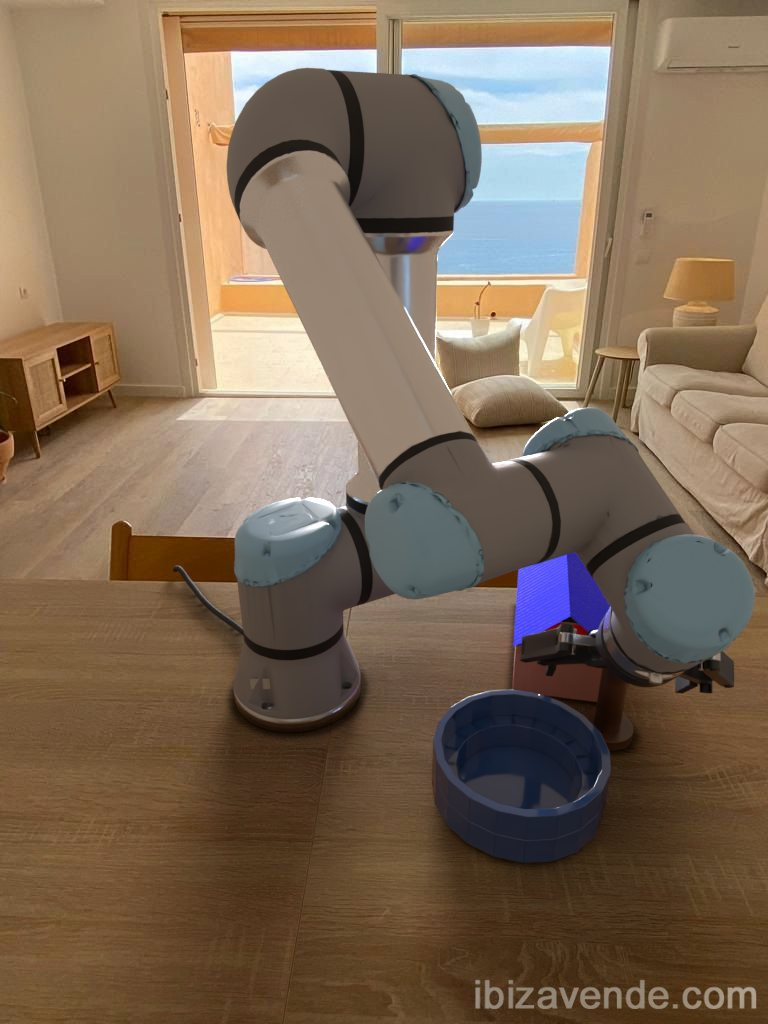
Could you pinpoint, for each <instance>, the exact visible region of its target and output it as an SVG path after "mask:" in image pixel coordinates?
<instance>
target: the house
mask: <svg viewBox="0 0 768 1024" xmlns="http://www.w3.org/2000/svg"><path fill="white" fill-rule="evenodd" d="M517 571H518V573H517V587H516V599H515V612H514V613H515V616H514V629H513V640H512V641H513V642H512V648H514V655H513V656H514V657H513V659H514V660H513V672H512V686H511V687H512V688H511V690H520V691H526V692H532V693H538V694H542V695H545V696H547V697H553V698H554V697H555V698H563V699H570V700H577V701H586V702H593V703H597V699H598V693H599V686H600V680H601V673H602V668H595V667H591V666H587V665H586V664H563V665H556V670H555V672H554V674H553V677H552V676H546V666H542V665H540V664H537V661H534V662H528V663H524V662H522V661H520V655H521V643H522V637H523V636H526V635H531V634H535V633H539V632H543V631H547V630H551V629H555V628H558V627H559V626H560V625H561V624H565V623H567V624H571V625H573V626H574V628H575V629H577V634H579V635H586V634H587V632H588V631H589V630H595V629H598V628H599V626H600V624H601V622H602V620H603V618H604V616H605V615H606V613H607V611H608V610H609V608H610V605H609V604H608V602H607V600H606V599H605V597H604V595H603V594H602V592H601V590H600V589H599V587H598V586H597V584H596V582H595V581H594V579H593V578H592V577H591V575H590V574H589V572H588V570H587V569H586V567H585V566H584V564H583V563H582V561H581V560H580V558H579V557H578V555H577V554H576V552H573V553H570V554H567V555H564V556H561V557H558V558H555V559H552V560H549V561H546V562H542V563H539V564H535V565H530V566H527V567H524V568H521V569H518V570H517ZM600 660H602V658H601V659H600Z"/></svg>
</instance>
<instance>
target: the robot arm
mask: <svg viewBox="0 0 768 1024" xmlns="http://www.w3.org/2000/svg"><path fill="white" fill-rule="evenodd" d="M482 154H483V151H482V141H481V134H480V129H479V125H478V122H477V119H476V116H475V113H474V111H473V109H472V107H471V105H470V104H469V103H468V102H466V99H465V97H464V95H463V93H462V92H460V90H459V89H458V88H456V87H455V86H454V85H453V84H451V83H449V82H446V81H444V80H442V79H434V78H430V77H429V78H428V77H423V76H420V75H418V74H415V73H412V74H407V73H406V74H405V73H403V74H402V73H386V72H385V73H383V72H382V73H381V72H366V71H350V70H335V69H326V68H320V67H319V68H318V67H300V68H295V69H292V70H288V71H285V72H282V73H280V74H278V75H276V76H274V77H273V78H271V79H270V80H268V81H266V82H265V83H264V84H263V85H262V86H261V87H259V88H258V89H257V90H255V92H254V93H253V94H252V95H251V97H249V98H248V100H247V101H246V102H245V104H244V106H243V108H242V110H241V111H240V113H239V115H238V116H237V119H236V121H235V122H234V126H233V129H232V132H231V136H230V137H229V142H228V146H227V154H226V155H227V157H226V179H227V180H226V181H227V187H228V193H229V196H230V199H231V203H232V206H233V208H234V211H235V213H236V215H237V218H238V220H239V223H240V224H241V227H242V229H243V230H244V232H245V234H246V235H247V237H248V239H250V240H251V242H253V243H254V244H255V245H256V246H257V247H260V248H262V249H265V250H266V251H267V253H268V255H269V257H270V259H271V261H272V263H273V266H274V268H275V270H276V272H277V274H278V276H279V279H280V280H281V283H282V284H283V287H284V289H285V291H286V293H287V296H288V297H289V299H290V301H291V303H292V305H293V307H294V309H295V312H296V314H297V316H298V318H299V320H300V323H301V324H302V326H303V329H304V330H305V333H306V335H307V337H308V339H309V342H310V343H311V346H312V348H313V350H314V352H315V354H316V356H317V358H318V361H319V362H320V364H321V367H322V369H323V371H324V373H325V375H326V378H327V379H328V381H329V383H330V385H331V387H332V389H333V392H334V394H335V396H336V398H337V400H338V402H339V405H340V407H341V409H342V411H343V413H344V415H345V417H346V419H347V421H348V423H349V426H350V428H351V430H352V432H353V434H354V436H355V438H356V440H357V472H355V473H354V474H353V475H352V476H351V477H350V478H349V479H348V480H347V482H346V484H345V496H346V497H345V505H344V506H340V507H336V506H335V505H334V504H333V503H331V502H330V501H327V500H325V499H322V498H317V497H306V498H304V499H302V498H301V497H292V498H286V499H282V500H279V501H275V502H272V503H270V504H267V505H265V506H262V507H261V508H258V509H257V510H256V511H254V512H253V513H251V514H250V515H248V516H247V517H246V518H245V519H244V520H243V522H242V524H241V525H240V526H239V527H238V528H237V530H236V532H235V536H234V562H233V572H234V575H235V577H236V582H237V590H238V600H239V601H238V602H239V606H240V607H239V609H240V617H241V625H242V626H241V625H240V624H239V623H237V622H236V621H235V620H233V619H232V618H231V617H229V616H228V615H226V614H225V613H224V612H222V611H221V610H220V609H218V608H217V607H215V606H214V605H213V604H212V603H211V602H210V601H209V600H208V599H207V598H206V597H205V595H204V594H203V593H202V592H201V590H200V589H199V588H198V586H197V585H196V583H194V581H193V580H192V579H191V578H190V576H189V575H188V574H187V572H186V571H185V569H184V568H183V567H182V566H181V565H175V566H174V567H173V568H172V572H174V573H177V572H178V573H179V575H180V576H181V577H182V579H183V580H184V582H185V583H186V584H187V585H188V586H189V588H190V590H191V591H192V592H193V594H194V595H195V597H196V598H197V599H198V600H199V601H200V602H201V604H202V605H203V606H204V607H205V608H206V609H207V610H209V611H210V612H211V613H212V614H214V615H215V616H216V617H218V619H220V620H222V621H223V622H225V623H226V624H227V625H228V626H230V627H231V628H233V630H235V631H237V632H238V633H239V634H241V635H242V636H243V642H242V643H243V644H242V647H241V651H240V655H239V659H238V662H237V665H236V669H235V674H234V677H233V682H232V687H233V688H232V689H233V697H234V701H235V702H234V703H235V705H236V708H237V710H238V711H239V713H240V714H241V715H242V717H244V718H245V719H246V720H247V721H248V722H250V723H251V724H253V725H255V726H257V727H260V728H262V729H265V730H269V731H274V732H282V733H300V732H306V731H307V732H308V731H312V730H317V729H320V728H323V727H326V726H328V725H330V724H332V723H334V722H336V721H338V720H339V719H341V718H342V717H344V716H345V715H346V714H347V713H349V712H350V711H351V709H352V708H353V707H354V706H355V705H356V703H357V702H358V700H359V697H360V694H361V689H362V679H361V677H362V676H361V668H360V665H359V662H358V660H357V659H356V656H355V653H354V651H353V649H352V646H351V644H350V642H349V639H348V638H347V634H346V633H345V628H344V627H345V626H344V612H345V611H347V610H348V609H351V608H356V607H358V606H361V605H365V604H367V603H371V602H374V601H377V600H380V599H381V600H382V599H384V598H387V597H390V596H393V595H397V596H399V597H401V598H404V599H407V600H421V599H427V598H433V597H436V596H441V595H443V594H448V593H453V592H455V591H457V592H461V591H465V590H467V589H471V588H473V587H476V586H477V585H479V584H481V583H484V582H487V581H489V580H493V579H495V578H499V577H502V576H504V575H507V574H510V573H512V572H515V571H518V570H519V569H521V568H524V567H527V566H530V565H535V564H539V563H542V562H546V561H549V560H552V559H555V558H558V557H561V556H564V555H567V554H570V553H573V552H576V554H577V555H578V557H579V558H580V560H581V561H582V563H583V564H584V566H585V567H586V569H587V570H588V572H589V574H590V575H591V577H592V578H593V579H594V581H595V582H596V584H597V586H598V587H599V589H600V590H601V592H602V594H603V595H604V597H605V599H606V600H607V602H608V604H609V605H610V608H609V610H608V611H607V613H606V615H605V616H604V618H603V620H602V622H601V624H600V626H599V628H598V629H595V630H589V631H588V632H587V634H586V635H579V634H577V629H575V628H574V626H573V625H571V624H567V623H565V624H561V625H560V626H559V627H558V628H555V629H551V630H547V631H543V632H539V633H535V634H531V635H526V636H523V637H522V643H521V655H520V661H522V662H524V663H528V662H534V661H537V664H540V665H542V666H546V676H552V677H553V674H554V672H555V670H556V665H563V664H586V665H587V666H591V667H595V668H608V669H609V670H610V671H611V672H612V673H613V674H614V675H615V676H616V677H618V678H619V679H621V680H622V681H624V682H626V683H628V685H631V686H635V687H640V688H655V687H656V688H657V687H660V686H663V685H666V684H667V683H669V682H671V681H673V680H674V693H676V694H685V693H687V692H689V691H691V690H694V689H696V688H697V687H699V693H702V694H713V682H715V683H716V684H718V686H720V687H724V688H725V689H733V688H735V661H734V659H732V658H731V657H730V656H729V655H727V653H725V652H724V651H726V650H728V649H729V647H730V645H731V644H732V642H734V641H735V640H736V639H737V637H738V636H740V635H741V634H742V633H743V631H744V630H745V629H746V628H747V626H748V624H749V623H750V621H751V619H752V616H753V613H754V608H755V602H756V591H755V584H754V582H753V579H752V576H751V572H750V571H749V569H748V567H747V565H746V564H745V562H743V560H742V559H741V558H740V557H739V555H737V554H736V552H735V551H733V550H731V549H729V548H728V547H727V546H726V545H724V544H722V543H720V542H718V541H716V540H714V539H713V538H711V537H707V536H703V535H699V534H696V533H695V532H694V531H693V529H692V528H691V526H690V525H689V524H688V523H687V522H686V521H685V519H684V518H683V517H682V516H681V513H680V512H679V510H678V509H677V508H676V506H675V505H674V503H673V501H672V500H671V498H670V497H669V496H668V494H667V492H665V490H664V488H663V487H662V485H661V484H660V483H659V481H658V480H657V478H656V476H655V475H654V473H653V472H652V470H651V469H650V468H649V466H648V465H647V463H646V462H645V460H644V459H643V457H642V456H641V454H640V451H639V449H638V447H637V445H636V444H635V443H634V442H633V441H632V440H631V439H630V438H629V437H628V436H626V434H625V433H624V432H623V430H622V429H621V428H620V427H619V425H618V424H617V423H616V422H615V420H614V419H613V417H612V416H611V415H610V414H609V413H607V412H606V411H605V410H603V409H600V408H598V407H580V408H576V409H573V410H571V411H569V412H568V413H567V414H565V415H563V416H561V417H554V419H552V420H551V421H549V422H547V423H545V425H543V426H542V427H540V428H539V430H537V431H536V432H535V433H534V434H533V435H532V436H531V437H530V438H529V440H528V441H527V443H526V444H525V446H524V448H523V451H522V456H520V457H516V458H511V459H510V458H509V459H506V460H502V461H501V462H493V463H492V462H490V460H489V458H488V456H487V454H486V452H485V451H484V450H483V448H482V447H481V445H480V444H479V442H478V439H476V436H475V435H474V432H473V430H472V429H471V427H470V425H469V423H468V422H467V420H466V417H465V416H464V414H463V413H462V411H461V409H460V407H459V405H458V402H457V401H456V399H455V398H454V396H453V393H452V392H451V390H450V388H449V387H448V385H447V383H446V381H445V379H444V377H443V376H442V374H441V372H440V370H439V368H438V367H437V364H436V345H437V344H436V341H437V340H436V339H437V338H436V337H437V297H438V296H437V295H438V294H437V293H438V253H439V251H440V248H441V247H442V246H443V245H445V244H446V242H447V241H448V240H449V239H450V238H451V236H452V235H453V234H454V229H455V228H454V227H455V225H454V224H455V213H458V212H460V210H463V209H464V208H465V207H466V206H467V205H468V204H470V202H471V200H472V199H473V198H474V190H475V189H476V188H478V185H479V182H480V178H481V177H480V176H481V171H482V160H483V155H482ZM601 658H602V660H600V659H601Z"/></svg>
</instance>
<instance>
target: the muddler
mask: <svg viewBox="0 0 768 1024" xmlns="http://www.w3.org/2000/svg"><path fill="white" fill-rule="evenodd" d="M628 685H629V684H628V683H626V682H624V681H622V680H621V679H619V678H618V677H616V676H615V675H614V674H613V673H612V672H611V671H610V670H609V669H608V668H602V673H601V680H600V686H599V693H598V699H597V702H596V707H592V708H589V709H587V710H586V711H585V712H584V713H583V714H582V715H584V716H585V717H586V718H587V719H588V720H589V721H590V722H591V723H592V724H593V725H594V726H595V727H596V728H597V729H598V731H599V732H600V733H601V735H602V737H603V739H604V741H605V743H606V745H607V747H608V749H609V751H612V752H613V751H620V750H624V749H626V748H628V747H629V746H630V745H631V743H632V742H633V736H634V731H635V729H634V725H633V723H632V721H631V720H630V719H629V718H628V717H627V716H626V715H624V709H625V704H626V697H627V691H628Z"/></svg>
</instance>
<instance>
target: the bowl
mask: <svg viewBox="0 0 768 1024" xmlns="http://www.w3.org/2000/svg"><path fill="white" fill-rule="evenodd" d="M610 751H611V750H609V749H608V747H607V745H606V743H605V741H604V739H603V737H602V735H601V733H600V732H599V731H598V729H597V728H596V727H595V726H594V725H593V724H592V723H591V722H590V721H589V720H588V719H587V718H586V717H585V716H584V715H583V714H582V713H581V712H579V711H578V710H576V709H574V708H573V707H572V706H569V704H567V703H566V702H563V701H561V700H557V699H555V698H554V697H553V698H552V697H551V696H546V695H542V694H538V693H532V692H526V691H520V690H512V689H495V690H494V689H493V690H487V691H484V692H480V693H476V694H473V695H469V696H467V697H465V698H464V699H462V700H460V701H459V702H457V703H455V704H454V705H452V706H450V707H449V709H448V710H447V711H446V712H445V713H444V714H443V716H442V717H441V718H440V720H439V721H438V722H437V725H436V729H435V731H434V736H433V740H432V768H431V769H432V770H431V786H432V792H433V793H432V794H433V801H434V804H435V806H436V809H437V810H438V812H439V814H440V815H441V817H442V818H443V821H444V822H445V825H446V826H447V827H448V828H449V829H450V830H452V831H453V832H454V833H455V834H456V835H457V836H458V837H459V838H460V839H461V840H463V841H464V842H465V843H466V844H468V845H470V846H472V847H474V848H475V849H477V850H479V851H482V852H483V853H486V854H488V855H489V856H491V857H494V858H499V859H504V860H508V861H512V862H518V863H522V864H531V863H532V864H533V863H549V862H550V863H551V862H555V861H557V860H559V859H562V858H566V857H567V856H570V855H573V854H575V853H578V851H580V850H581V849H582V848H583V847H584V846H586V844H588V843H589V842H590V841H591V840H592V839H593V838H594V837H596V835H597V832H598V830H599V827H600V825H601V823H602V820H603V818H604V814H605V808H606V803H607V798H608V797H607V796H608V791H609V785H610V779H611V773H612V769H611V752H610Z"/></svg>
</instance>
